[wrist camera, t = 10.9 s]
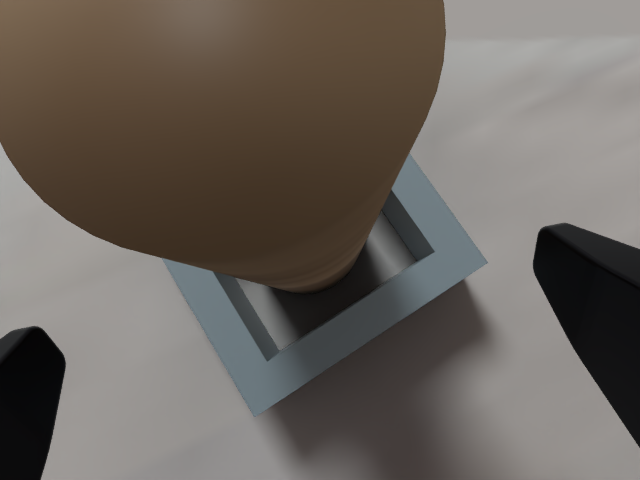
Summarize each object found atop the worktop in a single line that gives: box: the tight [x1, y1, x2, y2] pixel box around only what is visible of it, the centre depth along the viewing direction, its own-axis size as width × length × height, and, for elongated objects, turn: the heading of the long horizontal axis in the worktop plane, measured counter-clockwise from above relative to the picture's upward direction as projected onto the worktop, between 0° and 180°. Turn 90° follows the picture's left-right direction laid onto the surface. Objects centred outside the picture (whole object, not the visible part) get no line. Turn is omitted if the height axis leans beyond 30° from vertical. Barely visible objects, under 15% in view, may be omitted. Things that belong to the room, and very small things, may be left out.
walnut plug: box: [0, 0, 446, 294], centre depth 10 cm, size 4×4×13 cm
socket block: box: [162, 153, 488, 417], centre depth 15 cm, size 9×9×3 cm
